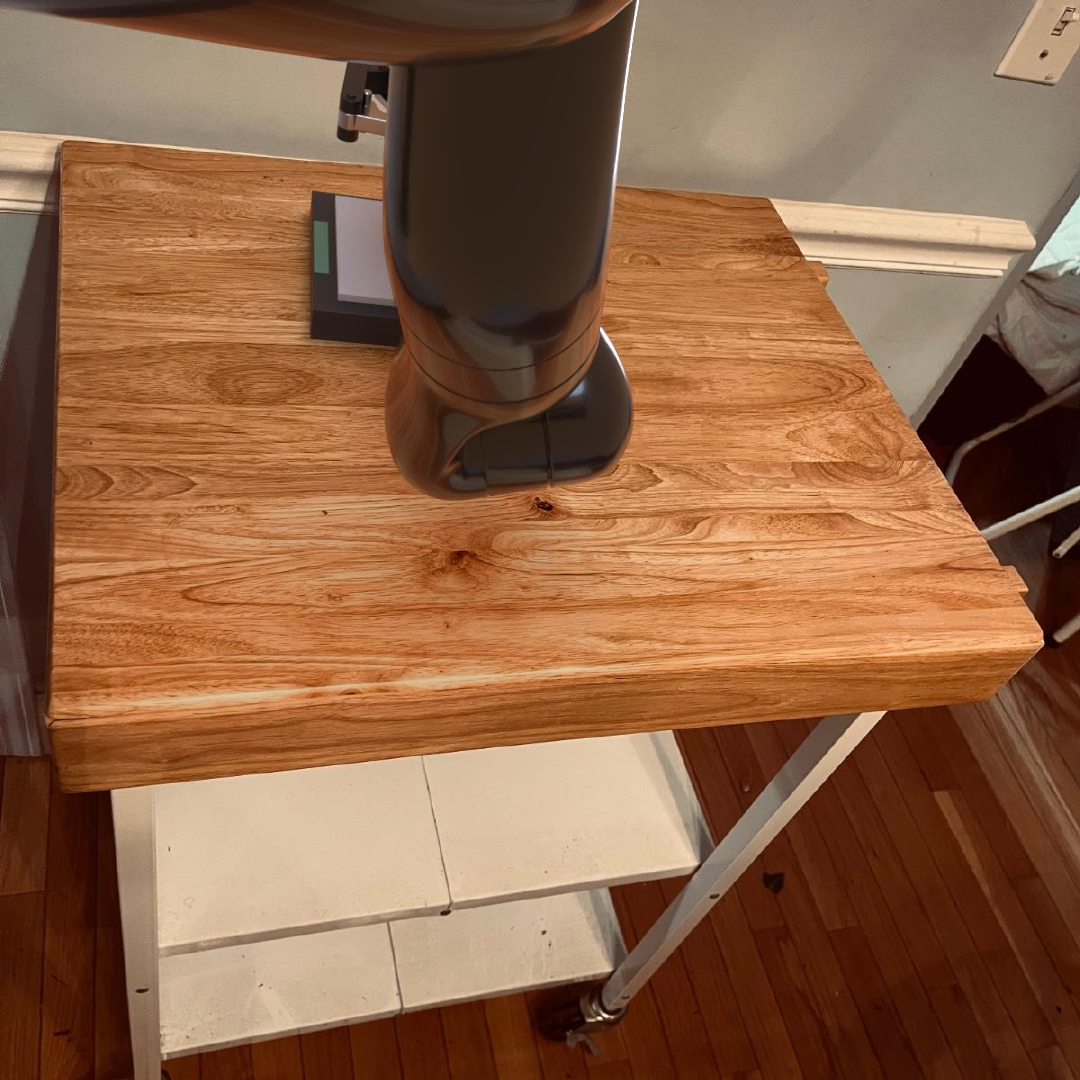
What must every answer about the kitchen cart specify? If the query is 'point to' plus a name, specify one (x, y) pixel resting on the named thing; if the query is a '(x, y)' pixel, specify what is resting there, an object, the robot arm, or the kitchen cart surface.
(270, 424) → the kitchen cart surface
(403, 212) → the robot arm
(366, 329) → the scale
